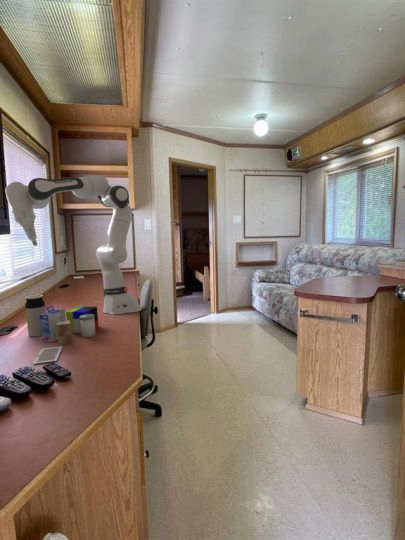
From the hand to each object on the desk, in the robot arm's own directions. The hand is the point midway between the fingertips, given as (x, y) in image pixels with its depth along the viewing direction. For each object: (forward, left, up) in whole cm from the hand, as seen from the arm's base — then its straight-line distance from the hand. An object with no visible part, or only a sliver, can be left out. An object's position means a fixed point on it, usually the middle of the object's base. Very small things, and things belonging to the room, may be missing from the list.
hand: (34, 243), depth 147 cm
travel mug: (+1, +7, -42) cm, 43 cm away
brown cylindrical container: (-15, +24, -42) cm, 51 cm away
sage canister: (-23, +16, -42) cm, 51 cm away
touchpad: (-13, +37, -43) cm, 58 cm away
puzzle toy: (-19, +6, -43) cm, 47 cm away
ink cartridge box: (-9, +16, -42) cm, 46 cm away
